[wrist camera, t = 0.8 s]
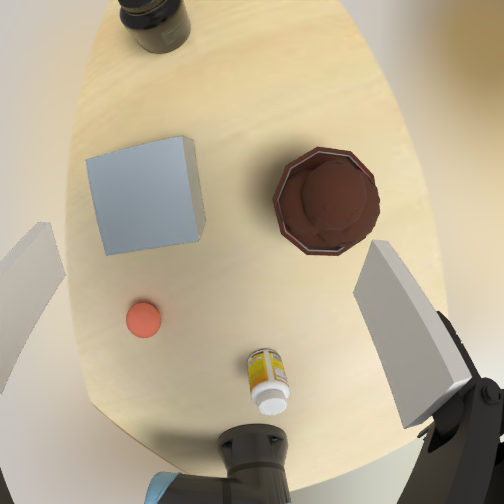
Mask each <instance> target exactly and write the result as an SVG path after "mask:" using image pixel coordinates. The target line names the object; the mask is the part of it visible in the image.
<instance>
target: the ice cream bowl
mask: <svg viewBox="0 0 504 504" xmlns="http://www.w3.org/2000/svg"><path fill="white" fill-rule="evenodd" d="M273 203H274V207H275V211H276V215H277V219H278V223H279V227H280V232H281V234H282V235H283V236H284V237H285V238H286V239H288V240H289V241H290V242H291V243H293V244H294V245H295V246H296V247H298V248H299V249H300V250H301V251H303V252H304V253H305V254H306V255H327V256H339V255H341V254H342V253H344V252H345V251H347V250H348V249H350V248H351V247H353V246H354V245H356V244H357V243H359V242H360V241H362V240H363V239H365V238H366V235H368V234H369V233H370V232H372V230H373V227H374V226H375V223H376V221H377V218H378V216H379V214H380V207H379V203H380V198H379V196H378V190H377V187H376V186H375V180H374V175H373V174H372V173H371V172H370V171H369V170H368V169H367V168H366V166H365V165H364V164H363V163H362V162H361V161H360V160H359V159H358V158H357V157H356V156H355V155H354V154H353V153H352V152H351V151H345V150H338V149H331V148H324V147H316V148H314V149H313V150H311V151H309V152H308V153H306V154H304V155H303V156H301V157H299V158H298V159H296V160H294V161H293V162H291V163H289V164H288V165H286V167H285V170H284V172H283V175H282V177H281V180H280V182H279V185H278V187H277V189H276V192H275V194H274V197H273Z"/></svg>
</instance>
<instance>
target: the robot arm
mask: <svg viewBox="0 0 504 504" xmlns="http://www.w3.org/2000/svg"><path fill="white" fill-rule="evenodd" d="M65 276H66V274H65V271H64V268H63V265H62V262H61V259H60V255H59V252H58V249H57V245H56V242H55V238H54V234H53V231H52V227H51V223H45V222H38V223H37V224H36V225H35V226H34V227H33V228H32V229H31V230H30V231H29V232H28V233H27V234H26V235H25V236H24V237H23V238H22V239H21V240H20V241H19V242H18V243H17V244H16V245H15V246H14V247H13V248H12V250H11V251H10V252H9V253H8V254H7V255H6V256H5V257H4V258H3V259H2V261H1V262H0V394H2V392H3V390H4V388H5V385H6V382H7V381H8V378H9V376H10V374H11V372H12V369H13V367H14V365H15V363H16V361H17V359H18V357H19V355H20V353H21V351H22V349H23V347H24V345H25V343H26V341H27V339H28V337H29V335H30V334H31V332H32V330H33V328H34V326H35V324H36V323H37V321H38V319H39V318H40V316H41V314H42V312H43V311H44V309H45V307H46V306H47V304H48V302H49V301H50V299H51V297H52V296H53V294H54V293H55V291H56V290H57V288H58V287H59V285H60V283H61V282H62V280H63V279H64V277H65ZM353 294H354V296H355V299H356V301H357V303H358V306H359V308H360V310H361V313H362V315H363V317H364V320H365V322H366V325H367V327H368V330H369V332H370V335H371V337H372V340H373V342H374V345H375V347H376V350H377V353H378V355H379V358H380V361H381V363H382V366H383V369H384V371H385V374H386V377H387V380H388V383H389V385H390V388H391V391H392V394H393V397H394V400H395V403H396V406H397V409H398V412H399V415H400V419H401V422H402V425H403V428H404V429H405V428H409V427H412V426H416V425H419V424H422V423H423V422H424V421H426V420H427V419H428V418H429V417H430V416H433V419H434V422H432V423H431V424H430V425H429V426H427V427H426V428H425V429H424V430H422V431H421V432H420V433H419V435H418V436H417V437H418V438H420V437H421V436H423V435H424V434H426V433H427V435H426V437H425V438H424V439H423V440H424V444H423V446H422V449H421V452H420V454H419V457H418V459H417V462H416V464H415V466H414V468H413V471H412V473H411V475H410V477H409V480H408V482H407V484H406V486H405V488H404V490H403V492H402V494H401V496H400V498H399V500H398V502H397V504H504V442H502V443H501V442H500V436H502V435H503V434H504V389H500V387H499V386H498V385H497V383H496V382H494V381H493V380H492V379H489V378H486V377H485V378H481V377H480V375H479V373H478V372H477V369H476V368H475V366H474V364H473V362H472V360H471V358H470V356H469V354H468V352H467V351H466V349H465V347H464V345H463V344H461V340H460V338H459V337H458V335H457V334H456V331H455V330H454V328H453V327H452V325H451V323H450V321H449V320H448V319H447V318H446V317H445V316H444V315H443V314H442V313H441V312H440V311H435V309H434V307H433V306H432V304H431V303H430V301H429V299H428V298H427V296H426V295H425V293H424V292H423V290H422V289H421V287H420V286H419V284H418V283H417V281H416V280H415V278H414V277H413V275H412V274H411V272H410V271H409V269H408V268H407V267H406V265H405V264H404V262H403V261H402V260H401V258H400V257H399V255H398V254H397V253H396V251H395V250H394V249H393V247H392V246H391V245H390V243H389V242H388V241H381V240H372V242H371V245H370V248H369V251H368V254H367V256H366V259H365V262H364V265H363V268H362V270H361V273H360V276H359V278H358V281H357V284H356V286H355V289H354V291H353ZM287 449H288V441H287V436H286V434H285V432H284V431H282V430H281V429H279V428H277V427H274V426H270V425H263V424H252V425H244V426H239V427H236V428H233V429H230V430H228V431H226V432H225V433H223V434H222V435H221V436H220V438H219V440H218V451H219V454H220V456H221V459H222V461H223V463H224V465H225V468H226V470H227V478H220V477H206V476H196V475H187V474H182V473H170V472H159V473H157V474H156V475H154V477H153V478H152V480H151V482H150V484H149V487H148V490H147V494H146V498H145V503H144V504H292V503H291V499H290V494H289V489H288V484H287V479H286V474H285V469H284V464H285V459H286V454H287ZM0 504H14V502H13V500H12V498H11V495H10V493H9V490H8V488H7V485H6V482H5V480H4V477H3V474H2V471H1V468H0Z"/></svg>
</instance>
